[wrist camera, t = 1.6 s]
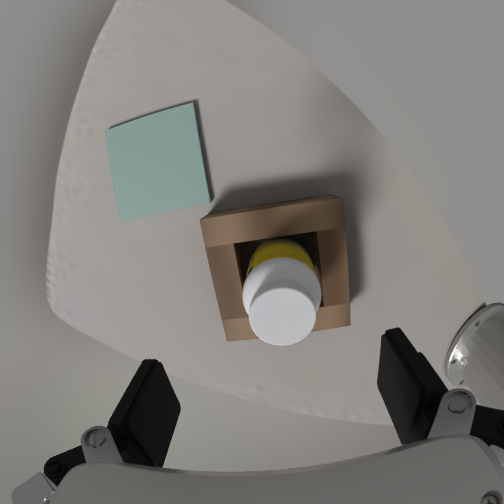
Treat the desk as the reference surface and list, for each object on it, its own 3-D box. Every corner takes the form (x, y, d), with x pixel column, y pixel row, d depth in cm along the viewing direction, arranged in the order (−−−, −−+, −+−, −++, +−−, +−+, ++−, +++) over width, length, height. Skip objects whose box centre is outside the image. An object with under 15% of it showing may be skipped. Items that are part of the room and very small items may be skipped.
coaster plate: (194, 103, 22) (192, 102, 22) (211, 201, 24) (210, 202, 24) (107, 131, 23) (105, 130, 23) (123, 220, 25) (120, 221, 25)
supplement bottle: (246, 238, 25) (230, 279, 16) (307, 232, 25) (328, 269, 15) (253, 295, 27) (243, 358, 17) (311, 289, 26) (330, 350, 17)
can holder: (333, 195, 24) (341, 198, 21) (343, 309, 26) (350, 325, 24) (207, 214, 25) (199, 219, 22) (231, 324, 28) (227, 341, 25)
